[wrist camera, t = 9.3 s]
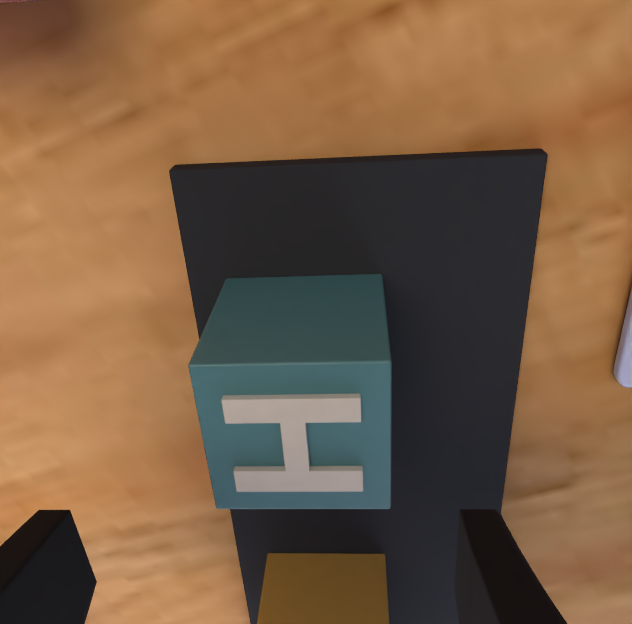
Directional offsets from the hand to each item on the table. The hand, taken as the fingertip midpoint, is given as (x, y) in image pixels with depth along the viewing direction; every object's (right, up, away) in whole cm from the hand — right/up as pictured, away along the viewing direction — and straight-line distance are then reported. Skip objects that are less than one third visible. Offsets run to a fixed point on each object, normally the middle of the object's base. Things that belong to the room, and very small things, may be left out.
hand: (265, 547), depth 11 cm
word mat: (+3, -1, +11) cm, 11 cm away
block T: (+1, -7, +13) cm, 15 cm away
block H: (+1, +3, +7) cm, 8 cm away
